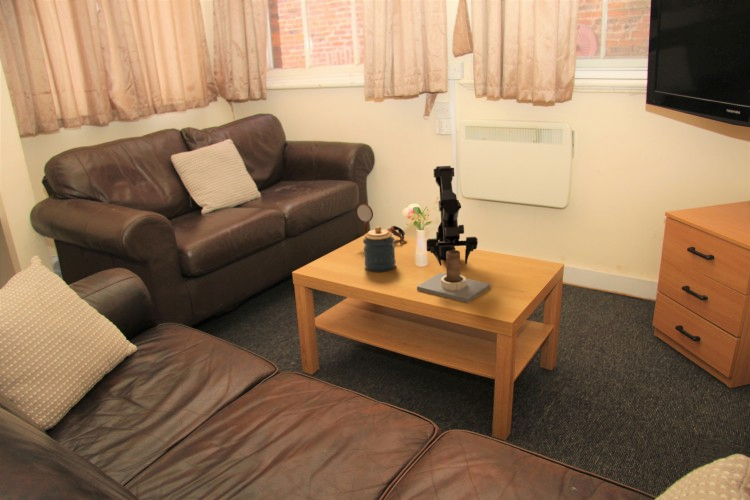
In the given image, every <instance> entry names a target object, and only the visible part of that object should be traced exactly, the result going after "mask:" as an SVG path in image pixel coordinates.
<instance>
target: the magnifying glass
mask: <svg viewBox="0 0 750 500" xmlns="http://www.w3.org/2000/svg"><path fill="white" fill-rule="evenodd" d="M356 215H357V218H358V219H359V220H360V221H361V222H362V223H363V224H364V225H363V226H364V235H365V234H366V233H368V223H369V222H371V221H372V219H373V218H374V211H373V209H372V208H371V206H370V205H368V204H366V203H361V204H359V205H358V206H357V208H356ZM365 238H366V237H365V236H364V239H365Z"/></svg>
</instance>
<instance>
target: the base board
mask: <svg viewBox="0 0 750 500" xmlns="http://www.w3.org/2000/svg"><path fill="white" fill-rule="evenodd" d="M489 289H491V283H488V282H485V281H480V280H475V279H470V278H466V277H465V276H464V275H461V274H460V282H456V283H450V282H447V273H443V272H439V273H437V274H435V275H434V276H432V277H431V278H429V279H426V281H424V282H422V283H420V284H418V285H417V286H416V291H418V292H419V291H420V292H423V293H427V294H432V295H435V296H438V297H443V298H448V299H451V300H456V301H460V302H463V303H466V304H469V303H470V302H472V301H473V300H475V299H476V298H478V297H479V296H480V295H482V294H483V293H485V292H486V291H487V290H489Z"/></svg>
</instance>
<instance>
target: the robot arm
mask: <svg viewBox="0 0 750 500" xmlns="http://www.w3.org/2000/svg"><path fill="white" fill-rule="evenodd" d="M453 177H455V168H454V167H451V165H442V166H441V165H440V166H439V165H437V166H435V168H433V178H435V180H434V181H435V183H436V185H437V186H438V188H439V200H438V211H439V212H440V223H439V225H438V227H437V231H436V232H435V238H427V239H426V251H427V252H430V254H433V255H434V256H435V258H436V260H437V262H438V264H439V266H442V260H444V261H446V252H447V251H449V250H456V247H464V246H465V249H464V264H465V266H467V264H468V259H469V257H470V253H471V252H474V251H475V250H477V248H478V243H479V241H478V238H477V237H476V236H466V237H465V240H460V237H461V235H464V234H465V228H464V227H465V226H464V224H459V223H458V217H459V212H460V210H461V209H462V204H461V202H460V201H459V200H458V198H457V194H456V193H455V192H454V190H453V182H452V181H453V180H454V179H453ZM458 224H459V225H458Z"/></svg>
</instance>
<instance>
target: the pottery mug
mask: <svg viewBox="0 0 750 500" xmlns="http://www.w3.org/2000/svg"><path fill="white" fill-rule="evenodd" d="M386 230H388V231H389V232H391V233H392V236H393V235H394V236H395V237H397V238H400V239H399V243H400V244H402V243H401V242H404V240H405V234H406V232H405V231H404V230H403V229H402V228H401V227H400V226H397V225H391V227H389V228H387V229H386Z"/></svg>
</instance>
